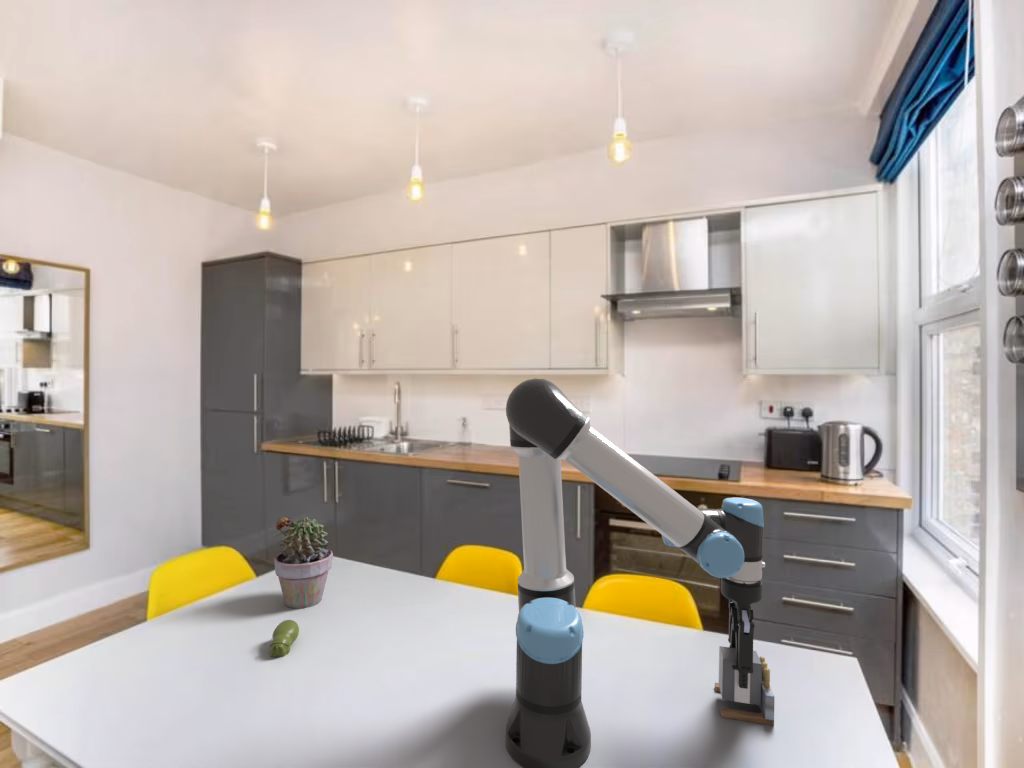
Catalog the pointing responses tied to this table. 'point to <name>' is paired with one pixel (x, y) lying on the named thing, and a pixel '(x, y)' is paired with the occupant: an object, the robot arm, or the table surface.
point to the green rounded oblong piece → (283, 638)
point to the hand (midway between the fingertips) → (739, 692)
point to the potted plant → (303, 562)
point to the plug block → (727, 673)
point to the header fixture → (765, 706)
